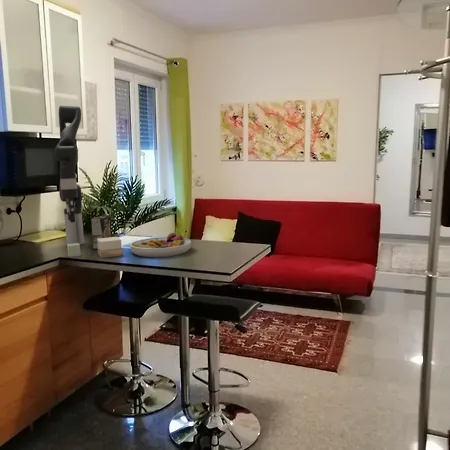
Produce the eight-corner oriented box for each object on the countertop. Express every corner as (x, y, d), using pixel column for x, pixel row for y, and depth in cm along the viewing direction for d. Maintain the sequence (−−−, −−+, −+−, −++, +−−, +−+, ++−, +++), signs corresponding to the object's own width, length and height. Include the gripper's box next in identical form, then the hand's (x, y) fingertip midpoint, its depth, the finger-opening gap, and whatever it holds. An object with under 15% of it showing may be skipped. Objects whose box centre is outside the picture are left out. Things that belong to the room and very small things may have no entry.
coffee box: (104, 248, 243) (102, 218, 240) (92, 248, 244) (90, 218, 242) (111, 245, 252) (109, 216, 249) (100, 245, 253) (98, 216, 251)
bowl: (174, 260, 212) (174, 243, 211) (118, 257, 223) (117, 241, 221) (200, 247, 240) (200, 232, 239) (149, 245, 250) (148, 231, 249)
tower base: (98, 254, 231) (97, 246, 230) (118, 252, 235) (117, 244, 234) (101, 258, 222) (100, 250, 221) (122, 256, 226) (121, 247, 225)
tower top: (97, 246, 230) (97, 238, 230) (118, 244, 234) (117, 236, 233) (100, 250, 221) (100, 241, 220) (121, 247, 225) (121, 239, 224)
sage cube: (67, 255, 230) (66, 244, 230) (79, 253, 233) (78, 243, 232) (68, 257, 225) (68, 246, 225) (80, 255, 228) (79, 244, 227)
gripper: (78, 188, 219) (81, 222, 221) (75, 186, 232) (77, 219, 234) (62, 189, 216) (65, 223, 218) (59, 187, 229) (62, 220, 231)
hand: (71, 221), depth 226 cm, fingers open, 8 cm apart
